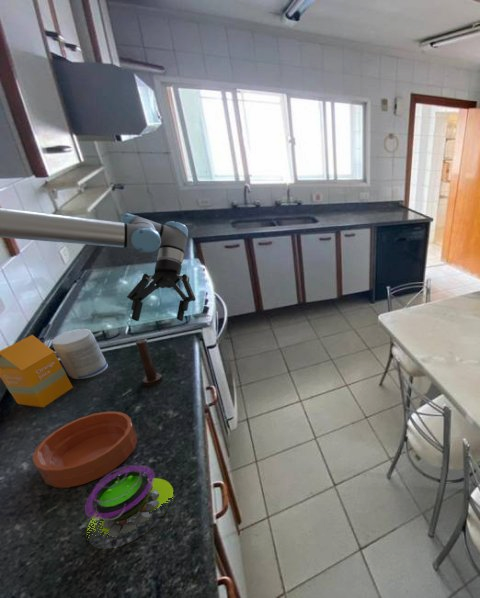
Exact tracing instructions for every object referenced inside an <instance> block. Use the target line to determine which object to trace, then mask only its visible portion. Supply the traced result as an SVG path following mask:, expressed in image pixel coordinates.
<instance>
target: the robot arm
mask: <svg viewBox="0 0 480 598" xmlns="http://www.w3.org/2000/svg"><path fill="white" fill-rule="evenodd" d="M188 237H189V229H188V227H187V226H186V225H185V224H183V223H181V222H179V221H173V220H172V221H171V220H170V221H167V222H165V224H163V223H158V222H156V221H153V220H150V219H148V218H144V217H141V216H139V215H138V214H137V215H136V214H132V213H129V212H128V213H127V212H126V213H124V214H123V215H122V216H121V219H120V221H111V220H102V219H94V218H87V217H78V216H71V215H61V214H54V213H44V212H39V211H29V210H22V209H21V210H20V209H12V208H4V207H0V238H2V239H3V238H4V239H16V240H28V241H39V242H52V243H64V244H77V245H78V244H79V245H89V246H102V247H115V248H125V249H126V248H127V249H135V250H137V251H139V252H141V253H152V252H155V251H157V250H158V253H157V256H156V257H157V258H156V260H157V261H156V262H155V266H154V272H153V274H148V273H143V275H142V277H141V279H140V280H139V282H138V283H137V284H136V285H135V286H134V288H133V289H132V290H131V291H130V292H129V293H128V295H127V296H126V298H127V299H128V300H130V301H132V304H131V307H130V309H131V310H132V315H131V320H133V321H134V322H135V321H136V322H140V317H141V313H142V309H143V304H144V303H143V302H142V301H143V300H144V299H146V298H147V297H149V295H151V294H152V293H153V292H154V291H155V290H158V289H159V288H160V289H165V288H166V289H171V288H173V289H174V290H175V291H176V293H177V294H178V295H179V296H180V298H181V300H179V304H178V308H177V309H178V310H177V314H176V319H177V320H178V321H180V322H183V321H184V316H185V312H187V311H188V309H189V304H190V302H195V301H196V296H195V294H194V292H193V289H192V286H191V284H190V276H188V275H187V274H186V273H183V274H182V275H181V273H182V269H183V268H182V265H183V261H184V257H185V250H186V246H187V242H188ZM180 281H181V282H182V284H183V286H184V290H185V292H186V294H187V295H186V294H185V292H184V291H183V290H182V289H181V287H180V286H179V284H178V282H180Z"/></svg>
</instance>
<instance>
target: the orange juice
mask: <svg viewBox="0 0 480 598" xmlns="http://www.w3.org/2000/svg"><path fill="white" fill-rule="evenodd" d="M0 379H1V381H2V382H3V384H4V385H5V387H6V388H7V391H8V392H9V394H11V396H12V398H13V400H14V401H15V402H16V404H17V405H22V406H23V405H24V406H30V407H39V408H45V407H46V406H47V405H50V403H52V402H54V401H55V400H57V399H58V398H60V397H62V395H64V394H66V393H68V391H70V390H71V389H73V388H74V386H73V384H72V382H71V381H70V379H69V377H68V374H67V372H66V370H65V368H64V367H63V366H62V363H61V361H60V359H59V357H58V355H57V353H56V352H55V350H53V349H52V348H50V347H49V346H47V344H45V343H44V342H43V341H41V340H40V339H39V338H38V337H36V336H35V335H34V334H31V335H29V336H27V337H25V338H22V339H21V340H19V341H17V342H15V343H13V344H10V345H9V346H6V347H5V348H2V349H1V350H0Z"/></svg>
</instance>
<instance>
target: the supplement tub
mask: <svg viewBox="0 0 480 598" xmlns="http://www.w3.org/2000/svg"><path fill="white" fill-rule="evenodd" d="M51 345H52V348H53V349H54V352H55V354H56V356H57V357H58V359H59V361H60V363H61V365H63V368H64V370H65V372H66V373H67V375H68V376H69V377H70V378H71V379H75V380H79V379H80V380H83V379H88V378H92V377H95V376H98V375H100V374H102V373H104V372H105V371H106V370H107V368H108V366H109V365H108V362H107V360H106V358H105V356H104V353H103V351H102V349H101V348H100V346H99V343H98V341H97V339H96V337H95V335H94V333H93V332H92V330H90V329H88V328H76V329H73V330H68V331H66V332H63V333H61V334H59V335H57V336H55V337H54V338H53V339H52V340H51Z"/></svg>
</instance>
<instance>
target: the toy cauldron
mask: <svg viewBox="0 0 480 598" xmlns="http://www.w3.org/2000/svg"><path fill="white" fill-rule="evenodd" d="M138 471H139V472H138ZM114 472H116V473H114ZM142 472H143V473H146V476H145V475H143V474H142ZM112 473H113V474H112ZM154 476H156V475H155V471H154V470H153V469H152V468H151V467H149V466H147V465H126V466H122V467H119V468H115V469H114V470H112V471H111V472H109V473H107V474H105V475H104V476H103V478H102V479H100V480H99V482H97V484H96V485H95V487H93V489H92V491H91V493H90V494H89V496H88V498H86V503H85V504H84V506H85V507H84V508H85V509H84V511H85V514H86V515H87V516H88V517H89V518H90V521H89V523H88V526H87V529H86V536H87V535H88V534H87V533H90V532H87V531H88V530H89V529H90V528H91V527H90V526H89V525H90V523H93V524H94V526H92V525H93V524H91V526H92V527H94V528H95V525H97V523H98V522H97V523H94V521H95V520H96V519H98V520H99V518H101V519H103V520H104V521H100V522H102V524H101V523H99V524H100V525H102V526H103V529H99V530H102V532H103V531H105V532H104V534H108V533H109V534H108V535H109V536H112V537H116V536H118V535H119V533H120V531H121V529H122V533H128V532H131V531H132V530H134V529H136V524H135V523H134V522H132V521H131V522H128V523H126V522H127V519H128V518H130V517H132V516H134V515H135V514H137V513H138V512H140V514H139V515H138V516H137V517H136V518H135V520H136V521H138V522H139V523H142V522H145V521H147V520H149V518H150V514H149V512H152V510H156V509H155V508H159V507H160V506H162V505H161V504H163V503H168V502H166V501H170V500H168V498H172V497H173V498H172V499H173V500H174V494H173V492H174V488H173V485H171V483H170V482H169V481H168V480H165V479H163V478H159V477H154ZM94 502H96V510H95V509H94V505H93V504H94ZM157 506H158V507H157ZM91 519H92V520H94V521H93V522H92V520H91ZM117 521H118V522H119V524H117V523H116V522H117ZM95 522H96V521H95ZM102 526H101V527H100V528H102ZM88 527H89V528H88ZM98 527H99V526H98ZM94 528H91V529H93V530H95V531H96V529H94ZM97 529H98V528H97ZM89 531H92V530H89ZM95 531H94V532H95ZM98 532H99V531H98ZM102 532H100V533H102ZM106 532H108V533H106ZM92 535H93V534H92ZM100 535H101V534H100ZM89 536H90V535H89ZM95 536H96V535H95ZM103 536H104V535H103ZM107 537H108V536H107ZM88 538H89V537H88Z"/></svg>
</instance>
